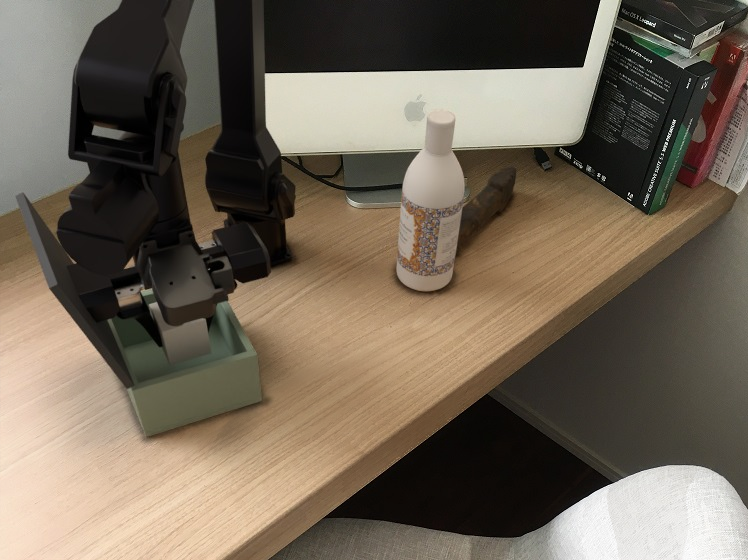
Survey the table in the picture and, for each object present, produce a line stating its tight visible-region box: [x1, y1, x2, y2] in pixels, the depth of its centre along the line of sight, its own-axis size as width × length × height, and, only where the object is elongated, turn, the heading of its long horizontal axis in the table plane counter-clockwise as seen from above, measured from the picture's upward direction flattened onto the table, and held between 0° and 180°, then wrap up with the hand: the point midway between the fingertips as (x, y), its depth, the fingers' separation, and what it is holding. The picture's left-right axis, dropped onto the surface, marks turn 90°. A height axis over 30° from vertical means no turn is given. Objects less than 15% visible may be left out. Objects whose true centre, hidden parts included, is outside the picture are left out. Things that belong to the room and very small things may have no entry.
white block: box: [149, 302, 211, 365], centre depth 80 cm, size 4×4×4 cm
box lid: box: [14, 191, 134, 390], centre depth 72 cm, size 13×14×1 cm
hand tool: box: [456, 165, 517, 254], centre depth 101 cm, size 19×4×5 cm, turn 143°
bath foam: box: [395, 108, 465, 292], centre depth 89 cm, size 7×7×20 cm
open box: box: [108, 289, 263, 438], centre depth 82 cm, size 13×14×7 cm
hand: (182, 338), depth 81 cm, fingers closed on white block, 4 cm apart
